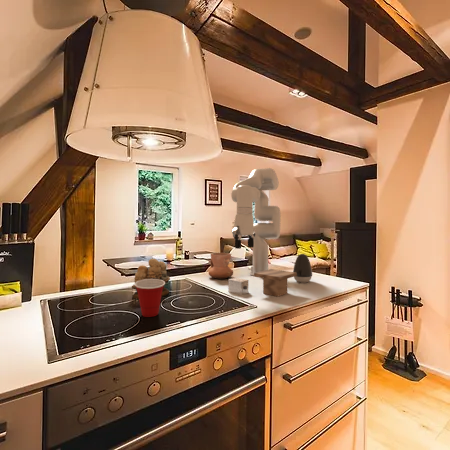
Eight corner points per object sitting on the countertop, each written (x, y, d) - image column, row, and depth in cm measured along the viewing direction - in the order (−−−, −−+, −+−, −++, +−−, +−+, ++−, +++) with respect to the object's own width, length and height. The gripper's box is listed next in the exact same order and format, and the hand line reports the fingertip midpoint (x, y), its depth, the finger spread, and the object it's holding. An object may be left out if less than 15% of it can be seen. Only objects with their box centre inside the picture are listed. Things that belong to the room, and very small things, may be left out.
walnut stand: (254, 293, 131) (254, 273, 131) (271, 287, 142) (271, 268, 141) (280, 299, 122) (280, 277, 122) (296, 292, 132) (296, 272, 132)
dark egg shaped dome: (310, 279, 160) (310, 252, 159) (314, 284, 149) (314, 255, 149) (291, 279, 161) (291, 252, 160) (294, 283, 150) (294, 255, 150)
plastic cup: (137, 322, 96) (137, 286, 96) (132, 312, 106) (131, 280, 106) (169, 316, 101) (168, 283, 101) (161, 308, 111) (160, 277, 111)
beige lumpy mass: (163, 289, 140) (163, 255, 139) (176, 294, 131) (176, 257, 130) (127, 296, 128) (127, 258, 128) (138, 302, 119) (138, 261, 119)
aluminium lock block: (228, 292, 135) (228, 279, 135) (235, 289, 138) (235, 277, 138) (242, 295, 129) (242, 282, 129) (249, 293, 133) (249, 280, 132)
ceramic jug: (239, 278, 164) (239, 253, 164) (219, 281, 155) (218, 255, 155) (221, 274, 178) (221, 251, 178) (201, 276, 170) (201, 253, 170)
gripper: (249, 212, 144) (249, 246, 144) (226, 211, 131) (226, 248, 131) (261, 212, 139) (261, 247, 139) (239, 210, 126) (239, 249, 126)
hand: (244, 247), depth 135 cm, fingers open, 9 cm apart
